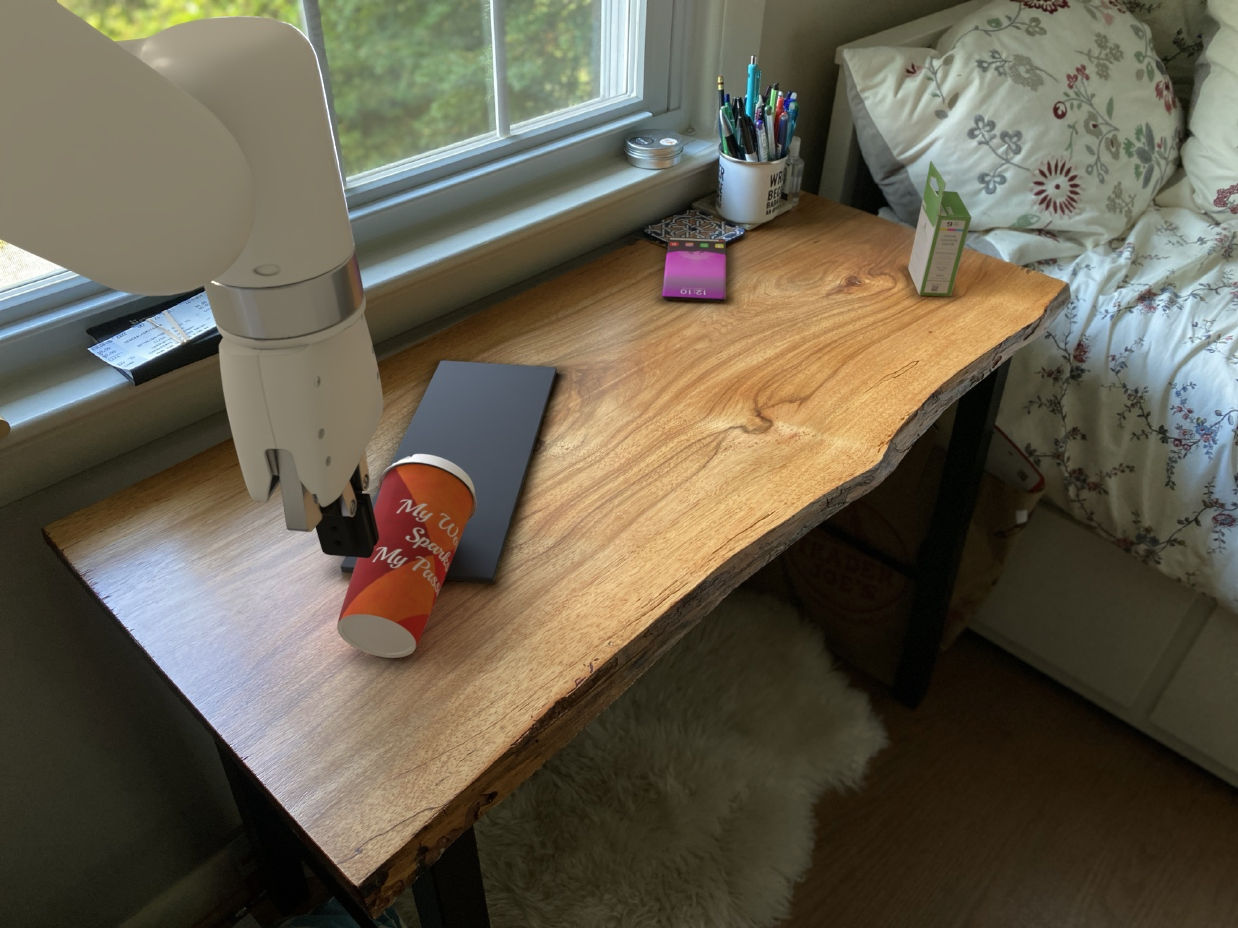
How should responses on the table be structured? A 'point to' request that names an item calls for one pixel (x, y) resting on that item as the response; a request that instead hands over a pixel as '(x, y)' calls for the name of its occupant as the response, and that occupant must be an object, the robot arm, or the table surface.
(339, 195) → the robot arm
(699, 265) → the smartphone
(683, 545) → the table surface
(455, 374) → the mat
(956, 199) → the ink box
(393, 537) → the paper cup
